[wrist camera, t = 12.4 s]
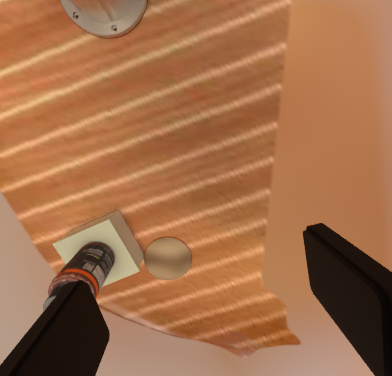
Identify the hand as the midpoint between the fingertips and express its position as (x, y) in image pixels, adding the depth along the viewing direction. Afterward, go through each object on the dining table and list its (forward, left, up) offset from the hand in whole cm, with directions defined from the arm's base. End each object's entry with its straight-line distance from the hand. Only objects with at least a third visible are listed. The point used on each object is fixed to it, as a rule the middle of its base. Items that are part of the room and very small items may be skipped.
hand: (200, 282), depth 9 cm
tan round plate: (+16, -9, -30) cm, 35 cm away
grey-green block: (+10, -19, -30) cm, 37 cm away
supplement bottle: (+10, -19, -25) cm, 33 cm away
